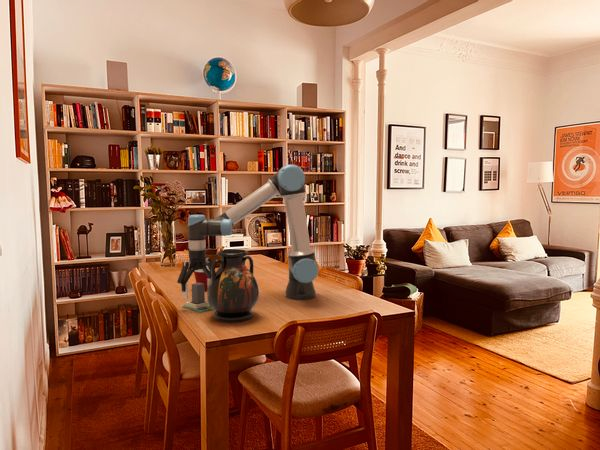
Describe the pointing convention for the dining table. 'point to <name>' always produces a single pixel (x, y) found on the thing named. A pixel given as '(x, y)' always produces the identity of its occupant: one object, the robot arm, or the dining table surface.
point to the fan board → (198, 306)
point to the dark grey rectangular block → (198, 293)
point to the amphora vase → (232, 287)
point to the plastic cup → (201, 277)
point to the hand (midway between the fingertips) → (198, 295)
